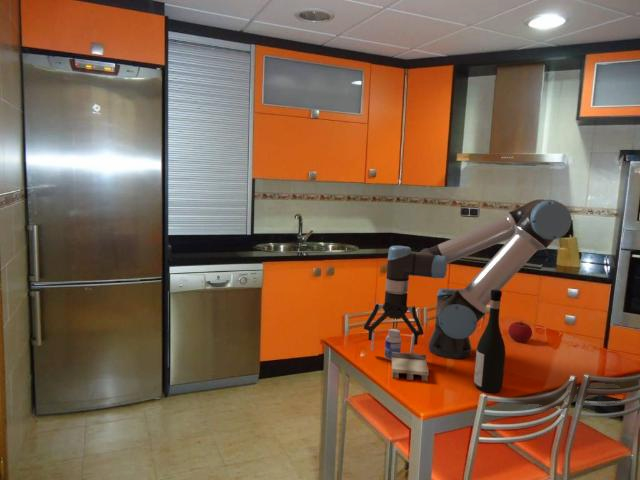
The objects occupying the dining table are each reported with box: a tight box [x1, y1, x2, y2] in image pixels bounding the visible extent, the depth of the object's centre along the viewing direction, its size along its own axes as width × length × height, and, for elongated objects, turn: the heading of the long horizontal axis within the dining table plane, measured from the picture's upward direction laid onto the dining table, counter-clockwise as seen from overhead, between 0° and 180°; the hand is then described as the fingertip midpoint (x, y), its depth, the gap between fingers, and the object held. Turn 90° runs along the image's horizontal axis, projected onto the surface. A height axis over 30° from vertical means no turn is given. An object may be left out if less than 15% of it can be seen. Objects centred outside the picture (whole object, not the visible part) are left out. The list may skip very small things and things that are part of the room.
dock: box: [391, 351, 430, 382], centre depth 148 cm, size 11×11×4 cm
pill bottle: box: [384, 328, 402, 361], centre depth 161 cm, size 5×5×10 cm
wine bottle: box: [473, 290, 506, 394], centre depth 138 cm, size 8×8×30 cm
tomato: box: [507, 320, 533, 342], centre depth 186 cm, size 9×9×8 cm
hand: (391, 351), depth 161 cm, fingers open, 13 cm apart
